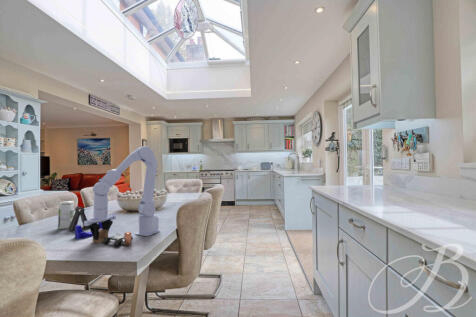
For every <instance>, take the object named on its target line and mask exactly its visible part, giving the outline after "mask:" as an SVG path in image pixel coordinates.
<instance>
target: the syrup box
mask: <svg viewBox="0 0 476 317" xmlns="http://www.w3.org/2000/svg"><path fill="white" fill-rule="evenodd" d="M74 214H75V201H74V200H64V201H61V202H59V203H58V218H57V219H58V222H57V225H58V226H57V230H66V229H69V226H70V224H71V221H72V219H73V216H74Z"/></svg>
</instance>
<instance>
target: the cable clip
mask: <svg viewBox="0 0 476 317" xmlns="http://www.w3.org/2000/svg"><path fill="white" fill-rule="evenodd" d="M97 224H98V225H100V228H99V229H102V224H101V222H100V223H97ZM81 227H82V226H81V225H80V224H77V225H75V231H74V238H75V239H77V240H82V239H86V238H87V239H88V238H90V237H92V238H93V235H92V232H91V231H86V232H85V231H84V230H82V228H81Z"/></svg>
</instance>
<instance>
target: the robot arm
mask: <svg viewBox="0 0 476 317" xmlns="http://www.w3.org/2000/svg"><path fill="white" fill-rule="evenodd" d="M154 153H155V151H153V149H152V148H150V147H149V146H145V145H144V146H140V147H137V148H136V149H135V150H133V151H132V152H131V153H130V154H128V155H127V157H125V159H124V160H123V161H122V162H121V163H120V164H119V165H118V166H117V167H116V168H115V169H114V168H113V169H110V170H107V171H106V174H105V175H104V176H103V177H102V178H100V179H99V180H98V182H96V183H95V184H94V186H93V187H92V192H93V194H94V195H93V217H92V218H90V219H87V221H84V226H88V227H89V228H90V229H89V230H90V232H92V239H93V238H94V240H98V237H99V228H100V225H98V223H100V222H101V224H102V229H106V230H108V233H109V231H110V229H111V226H112V224H114V221H113V220H116V219H117V215H116V214H111V215H109V211H108V210H109V197H108V193H109V192H110V188H112V187H113V186H115V184H116V183H117V182H118V181H119V180H120V179H121V178H122V173H123V172H125V170H127V168H128V167H130V166H131V165H132V164H133V163H134V162H137V161H141V162H143V164H144V165H145V166H146V168H145V175H144V176H145V177H144V183H143V190H142V197H141V198H140V201H139V204H138V206H137V211H138V213H139V214H138V232H135V233H134V235H136V236H144V237H148V236H151V235H153V234H156V233H160V232H161V230H159V226H160V224H159V217H158V215H157V214H155V213H156V205H155V199H154V196H155V195H154V194H155V187H156V179H157V178H156V177H157V169H158V161H157V158H156V155H155V154H154Z"/></svg>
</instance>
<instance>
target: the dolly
mask: <svg viewBox="0 0 476 317" xmlns="http://www.w3.org/2000/svg"><path fill="white" fill-rule="evenodd" d="M133 239H134V238H133V235H131V243H132V242H133ZM121 240H124V234H121V233H117V234H115V235H112V236H108V237H106V238H104V239H103V243H102V244H103V245H105V246H107V245H109V244H110V243H112V244H113V245H114V247H116V248H119V247H121V245H122V244H123V243H122V241H121Z"/></svg>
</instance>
